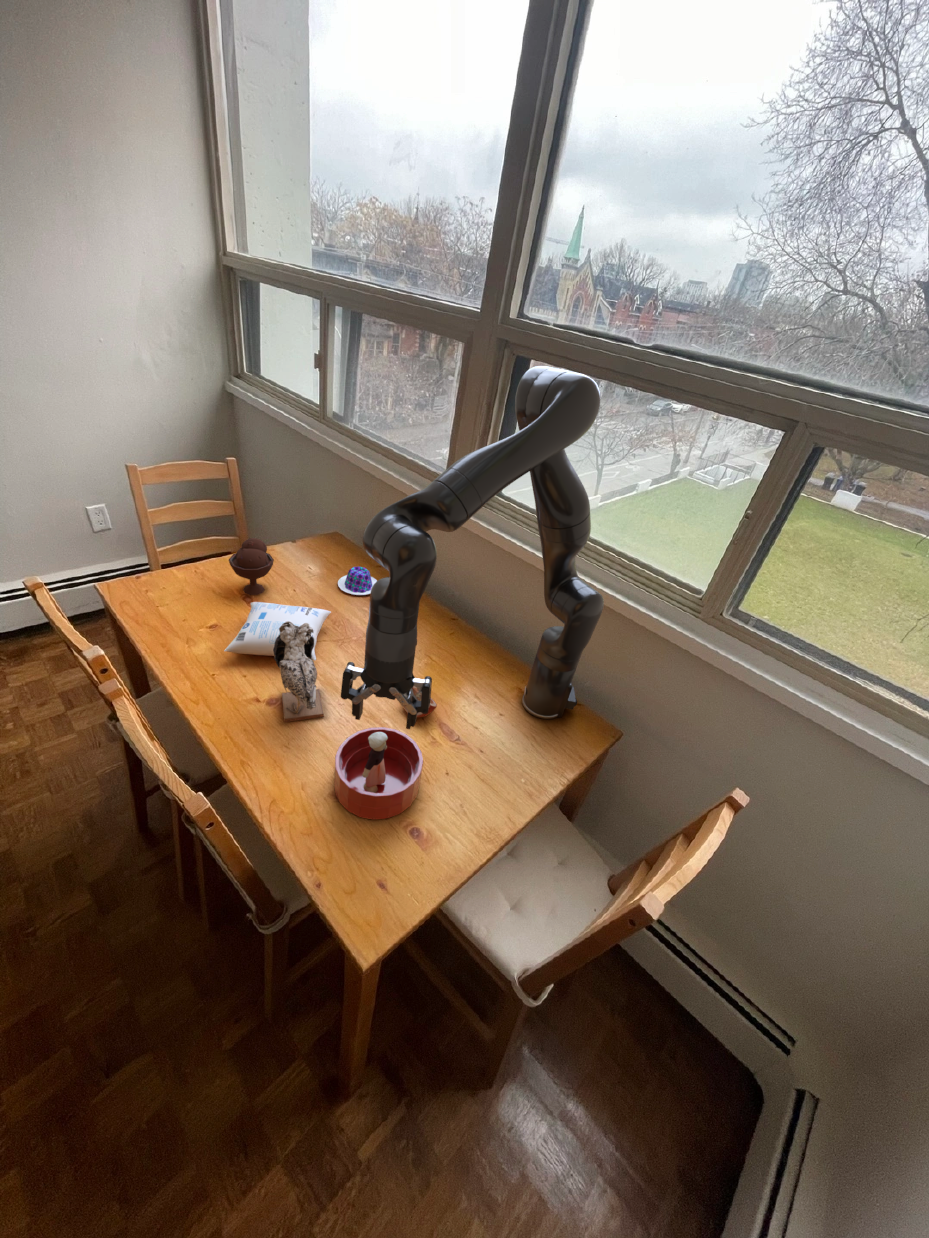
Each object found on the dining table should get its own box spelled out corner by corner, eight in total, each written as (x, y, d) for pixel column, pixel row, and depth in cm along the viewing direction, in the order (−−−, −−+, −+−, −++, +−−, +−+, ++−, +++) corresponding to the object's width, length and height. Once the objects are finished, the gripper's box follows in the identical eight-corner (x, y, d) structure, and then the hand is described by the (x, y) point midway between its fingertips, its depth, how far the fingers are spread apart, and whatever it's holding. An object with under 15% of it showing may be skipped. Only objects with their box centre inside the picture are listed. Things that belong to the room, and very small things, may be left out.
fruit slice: (394, 703, 112) (396, 687, 109) (419, 693, 116) (421, 676, 113) (416, 727, 107) (419, 711, 105) (441, 716, 111) (444, 699, 109)
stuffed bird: (304, 671, 116) (303, 608, 107) (346, 726, 104) (349, 662, 95) (260, 685, 110) (255, 620, 101) (300, 746, 99) (298, 679, 89)
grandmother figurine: (378, 801, 91) (383, 753, 84) (358, 795, 91) (361, 747, 84) (390, 767, 97) (396, 720, 90) (371, 763, 97) (375, 715, 90)
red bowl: (424, 759, 101) (428, 735, 97) (410, 828, 88) (414, 803, 84) (348, 745, 101) (349, 720, 97) (322, 812, 88) (322, 786, 84)
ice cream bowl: (232, 580, 142) (227, 531, 134) (275, 579, 146) (272, 532, 137) (230, 601, 134) (224, 550, 126) (275, 599, 138) (272, 550, 129)
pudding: (387, 586, 152) (388, 571, 149) (360, 601, 143) (361, 586, 140) (356, 571, 157) (357, 556, 154) (328, 585, 148) (329, 569, 145)
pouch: (221, 635, 110) (315, 642, 112) (249, 592, 126) (331, 598, 128) (225, 664, 114) (316, 670, 116) (252, 618, 130) (331, 625, 132)
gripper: (336, 651, 73) (335, 729, 82) (433, 668, 73) (422, 745, 82) (351, 622, 79) (348, 698, 88) (440, 638, 79) (429, 712, 88)
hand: (384, 720), depth 85 cm, fingers open, 8 cm apart
